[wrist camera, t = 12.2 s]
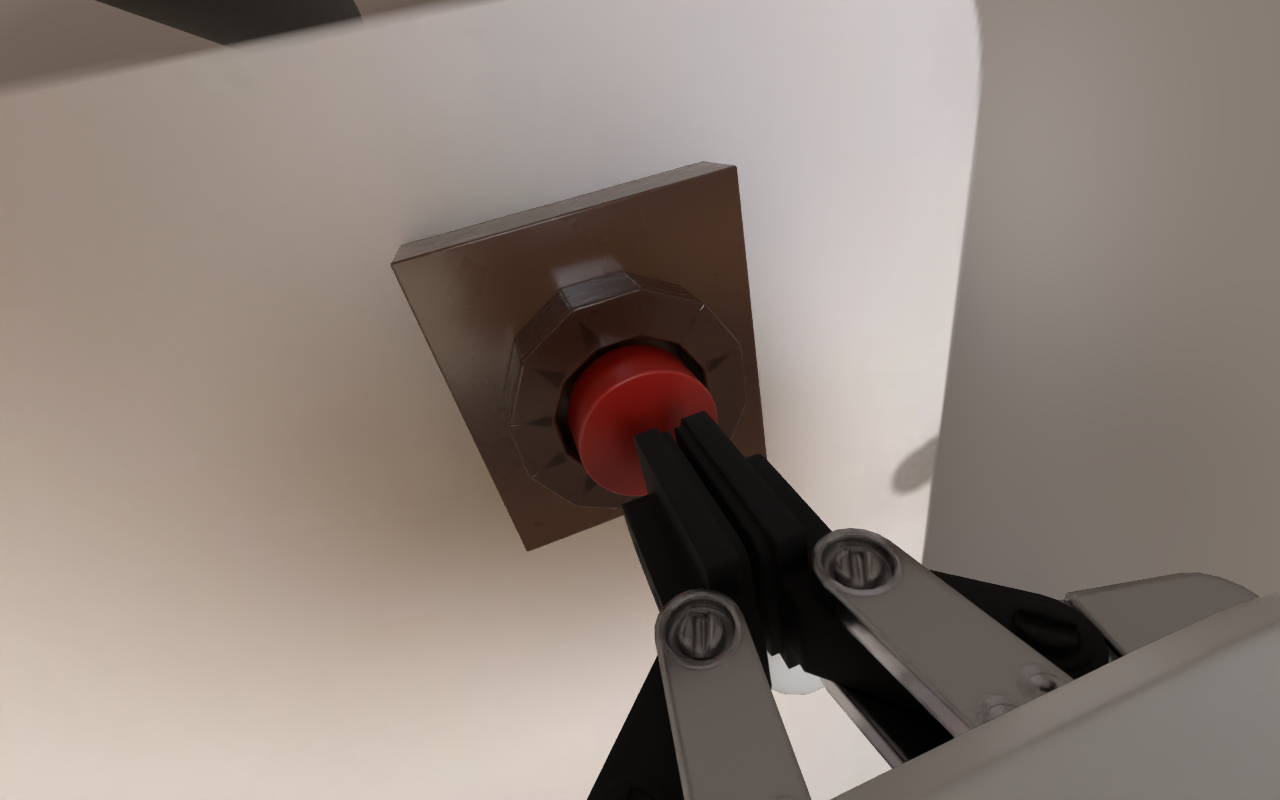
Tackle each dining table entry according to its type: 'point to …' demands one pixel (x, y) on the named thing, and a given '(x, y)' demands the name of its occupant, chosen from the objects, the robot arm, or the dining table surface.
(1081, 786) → the robot arm
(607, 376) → the button
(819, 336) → the dining table surface
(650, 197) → the button block
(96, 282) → the dining table surface
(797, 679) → the egg
